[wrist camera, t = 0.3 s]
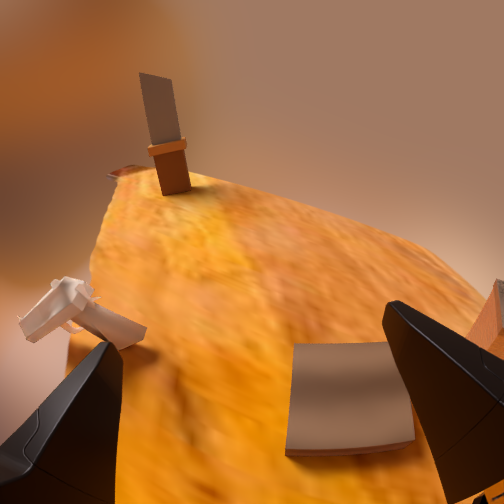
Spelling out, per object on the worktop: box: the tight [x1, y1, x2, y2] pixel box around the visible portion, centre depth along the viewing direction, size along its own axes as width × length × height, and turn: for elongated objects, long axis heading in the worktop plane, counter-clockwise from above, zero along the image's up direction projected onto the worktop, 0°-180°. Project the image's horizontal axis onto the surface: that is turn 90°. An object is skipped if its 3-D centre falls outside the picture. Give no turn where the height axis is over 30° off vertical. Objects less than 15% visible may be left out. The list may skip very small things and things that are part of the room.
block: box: [285, 342, 415, 456], centre depth 20 cm, size 10×10×3 cm
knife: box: [139, 73, 191, 196], centre depth 56 cm, size 8×4×30 cm, turn 99°
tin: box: [466, 279, 504, 360], centre depth 16 cm, size 6×6×10 cm
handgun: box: [17, 276, 147, 350], centre depth 28 cm, size 20×4×11 cm, turn 92°
